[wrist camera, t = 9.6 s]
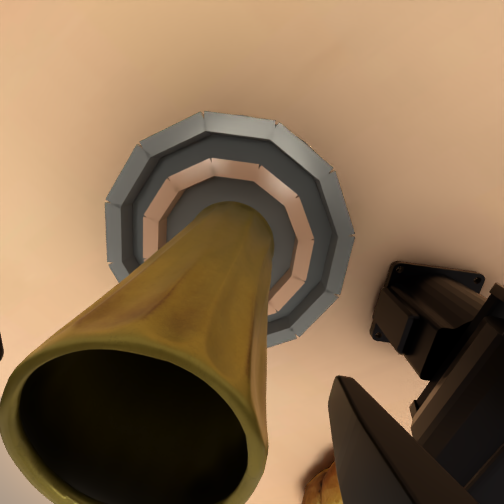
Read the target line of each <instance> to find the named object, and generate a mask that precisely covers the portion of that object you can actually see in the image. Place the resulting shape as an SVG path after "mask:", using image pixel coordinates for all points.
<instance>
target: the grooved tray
mask: <svg viewBox="0 0 504 504" xmlns="http://www.w3.org/2000/svg"><path fill="white" fill-rule="evenodd" d="M275 121H276V120H268V119H261V118H253V117H248V116H243V115H231V114H223V113H216V112H208V111H204V114H203V113H202V112H199V113H197V114H195V115H193V116H191V117H189V118H187V119H185V120H183V121H180V122H178V123H176V124H174V125H172V126H170V127H168V128H166V129H164V130H162V131H160V132H158V133H156V134H154V135H152V136H150V137H148V138H146V139H144V140H142V141H140V144H141V145H138V144H137V145H136V147H135V148H134V150H133V152H132V154H131V155H130V157H129V159H128V161H127V162H126V164H125V166H124V168H123V169H122V171H121V173H120V175H119V176H118V178H117V180H116V182H115V183H114V185H113V187H112V189H111V191H110V192H109V194H108V196H107V198H106V200H108V201H109V202H105V219H106V243H107V262H112V263H111V264H109V267H110V269H111V270H112V272H113V274H114V275H115V277H116V279H117V280H118V282H119V283H120V282H121V281H122V280H124V279H125V278H126V277H127V276H128V275H130V274H131V273H132V272H133V271H134V270H135V269H137V268H138V267H139V266H140V265H141V264H143V263H144V262H145V261H146V260H147V259H148V258H150V257H151V256H152V255H153V254H154V253H155V252H156V251H158V250H159V249H160V248H161V247H162V246H164V245H165V244H166V243H168V242H169V241H170V240H171V239H172V238H173V237H175V236H176V235H177V234H178V233H179V232H181V231H182V230H183V229H184V228H185V227H186V226H187V225H188V224H190V223H191V222H192V221H193V220H194V219H195V217H196V216H197V215H198V214H199V213H200V212H201V211H202V210H203V209H204V208H206V207H208V206H210V205H212V204H215V203H218V202H224V201H234V202H239V203H243V204H245V205H248V206H250V207H252V208H254V209H255V210H257V211H258V212H259V213H260V214H261V215H262V216H263V217H264V219H265V220H266V221H267V223H268V224H269V226H270V228H271V230H272V234H273V239H274V256H273V258H272V271H271V283H270V289H269V295H268V324H267V348H268V347H272V346H275V345H278V344H281V343H284V342H287V341H291V340H294V339H297V337H296V335H297V336H299V337H300V336H301V335H302V334H303V333H304V332H305V331H306V330H307V329H308V328H309V327H310V326H311V325H312V324H313V323H314V322H315V321H316V320H317V319H318V318H319V317H320V316H321V315H322V314H323V313H324V312H325V311H326V310H327V309H328V308H329V307H330V306H331V305H332V304H333V303H334V302H335V301H336V299H337V298H338V296H337V294H339V295H340V293H341V289H342V285H343V281H344V278H345V274H346V270H347V266H348V262H349V258H350V254H351V250H352V246H353V243H354V239H355V237H354V236H353V235H352V234H355V232H354V229H353V226H352V223H351V220H350V217H349V213H348V210H347V207H346V204H345V201H344V197H343V194H342V191H341V188H340V185H339V181H338V178H337V175H336V172H335V171H331V170H332V169H333V167H331V166H330V165H329V164H328V163H327V162H326V161H324V160H323V159H322V158H321V157H320V156H319V155H317V154H316V153H315V152H314V151H313V150H312V149H311V148H310V147H309V146H308V145H307V144H306V143H305V142H303V141H302V140H301V139H299V138H298V137H297V136H295V135H294V134H293V133H291V132H290V131H289V130H288V129H287V128H286V127H284V126H283V125H282V124H281V123H280V122H279V123H278V125H275Z"/></svg>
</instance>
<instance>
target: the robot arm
mask: <svg viewBox="0 0 504 504" xmlns="http://www.w3.org/2000/svg"><path fill="white" fill-rule="evenodd" d="M400 266H401V269H400V270H399V271H396V269H397V267H400ZM475 278H477V279H476V280H475V281H474V279H475ZM484 281H485V277H484V276H483V275H482V274H480V273H477V272H472V271H465V270H458V269H451V268H444V267H437V266H429V265H422V264H415V263H408V262H401V261H396V262H394V263H393V264H392V265H391V267H390V270H389V273H388V276H387V279H386V283H385V286H384V287H383V288H382V289H381V292H380V295H379V298H378V301H377V305H376V308H375V311H374V314H373V319H374V321H373V324H372V328H371V331H370V334H371V336H372V338H373V339H374V340H376V341H382V342H389V343H391V344H392V346H393V347H394V348H395V350H396V351H397V353H398V354H401V355H404V356H405V358H406V359H407V361H408V362H409V363H410V365H411V366H412V367H413V369H414V370H415V371H416V373H417V374H418V375H419V377H420V378H421V379H423V380H428V381H430V382H429V383H428V385H427V386H426V388H425V389H424V391H423V392H422V393H421V395H420V396H419V398H418V399H417V400H414V401H413V402H412V404H411V405H410V412H411V416H412V424H411V431H412V435H413V437H412V436H411V435H410V434H409V433H408V432H407V431H406V430H405V429H404V428H403V427H402V426H401V425H400V424H399V423H398V422H397V421H396V420H395V419H394V418H393V417H392V416H391V415H390V414H389V413H388V412H387V411H386V410H385V409H384V408H383V407H382V406H381V405H380V404H379V403H378V402H377V401H376V400H375V399H374V398H373V397H372V396H371V395H370V394H369V393H368V392H367V391H366V390H365V389H364V388H363V387H362V386H361V385H360V384H359V383H358V382H356V381H355V380H354V379H353V378H351V377H347V376H340V375H338V376H336V377H335V379H334V382H333V386H332V389H331V393H330V396H329V401H328V411H329V418H330V426H331V434H332V442H333V449H334V457H335V465H336V472H337V478H338V483H339V488H340V492H341V497H342V501H343V504H504V286H503V285H500V284H497V283H495V284H494V286H493V287H492V289H491V290H490V293H491V295H490V296H489V298H488V299H487V298H485V297H484V296H482V295H480V294H479V293H480V291H481V288H482V286H483V284H484ZM376 333H379V334H378V335H376ZM3 354H4V349H3V344H2V339H1V334H0V361H1V359H2V357H3Z"/></svg>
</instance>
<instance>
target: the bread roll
mask: <svg viewBox="0 0 504 504" xmlns="http://www.w3.org/2000/svg"><path fill="white" fill-rule="evenodd" d="M302 504H343V501H342V497H341V492H340V488H339V483H338V478H337V472H336V465H335V461H334V462H333V463H332V465H331V466H330V468H328V469H325V470H323V471H321V472H320V473H319V474H318V475H316V476H315V477H314V478H313V479H312V480H311V481H310V482H309V483H308V484H307V486H306V488H305V493H304V497H303V502H302Z"/></svg>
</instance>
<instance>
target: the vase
mask: <svg viewBox="0 0 504 504" xmlns="http://www.w3.org/2000/svg"><path fill="white" fill-rule="evenodd" d="M273 256H274V239H273V234H272V230H271V228H270V226H269V224H268V223H267V221H266V220H265V219H264V217H263V216H262V215H261V214H260V213H259V212H258V211H257V210H255V209H254V208H252V207H250V206H248V205H245V204H243V203H239V202H234V201H224V202H218V203H215V204H212V205H210V206H208V207H206V208H204V209H203V210H202V211H201V212H200V213H199V214H198V215H197V216H196V217H195V219H194V220H193V221H192V222H191V223H190V224H188V225H187V226H186V227H185V228H184V229H183V230H182V231H181V232H179V233H178V234H177V235H176V236H175V237H173V238H172V239H171V240H170V241H169V242H168V243H166V244H165V245H164V246H162V247H161V248H160V249H159V250H158V251H156V252H155V253H154V254H153V255H152V256H151V257H150V258H148V259H147V260H146V261H145V262H144V263H143V264H141V265H140V266H139V267H138V268H137V269H135V270H134V271H133V272H132V273H131V274H130V275H128V276H127V277H126V278H125V279H124V280H122V281H121V282H120V283H119V284H117V285H116V286H115V287H114V288H112V289H111V290H110V291H109V292H107V293H106V294H105V295H104V296H102V297H101V298H100V299H99V300H97V301H96V302H95V303H94V304H92V305H91V306H90V307H88V308H87V309H86V310H84V311H83V312H82V313H81V314H79V315H78V316H77V317H75V318H74V319H73V320H71V321H70V322H69V323H68V324H66V325H65V326H64V327H62V328H61V329H60V330H59V331H57V332H56V333H55V334H53V335H52V336H51V337H50V338H49V339H47V340H46V341H45V342H44V343H43V344H41V345H40V346H39V347H38V348H37V349H35V350H34V351H33V352H32V353H30V354H29V355H28V356H27V357H26V358H25V359H24V360H23V361H22V362H21V363H20V364H19V365H18V366H17V367H16V369H15V370H14V371H13V373H12V374H11V376H10V377H9V379H8V382H7V384H6V387H5V389H4V392H3V395H2V398H1V402H0V433H1V437H2V440H3V443H4V445H5V447H6V449H7V451H8V454H9V455H10V457H11V458H12V460H13V461H14V463H15V464H16V466H17V467H18V468H19V469H20V471H21V472H22V473H23V475H24V476H25V477H26V478H27V479H28V481H29V482H30V483H31V484H32V485H33V486H34V487H35V488H36V489H37V490H38V491H39V492H40V493H42V494H43V495H44V496H45V497H46V498H48V499H49V500H50V501H51V502H53V503H54V504H245V503H246V501H247V500H248V499H249V498H250V496H251V495H252V493H253V492H254V490H255V488H256V486H257V485H258V483H259V481H260V479H261V477H262V475H263V473H264V469H265V464H266V460H267V455H268V434H267V421H266V377H267V324H268V295H269V289H270V283H271V271H272V258H273Z"/></svg>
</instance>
